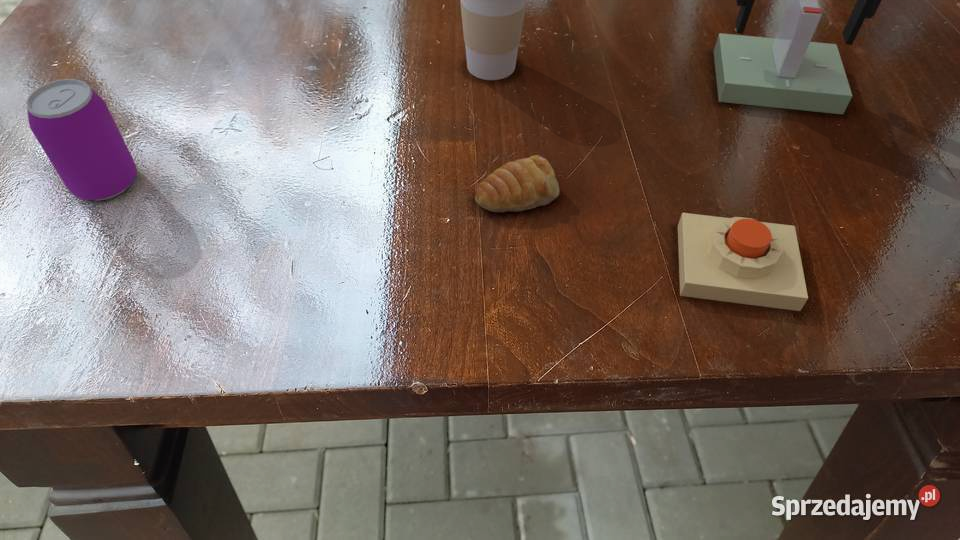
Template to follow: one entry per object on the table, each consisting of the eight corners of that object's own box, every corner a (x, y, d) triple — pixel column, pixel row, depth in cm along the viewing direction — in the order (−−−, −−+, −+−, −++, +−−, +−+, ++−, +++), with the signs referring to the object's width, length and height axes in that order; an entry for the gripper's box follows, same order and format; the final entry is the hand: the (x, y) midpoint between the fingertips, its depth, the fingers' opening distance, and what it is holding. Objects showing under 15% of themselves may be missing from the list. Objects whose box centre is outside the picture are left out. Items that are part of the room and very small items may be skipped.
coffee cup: (534, 58, 98) (543, -47, 86) (506, 92, 93) (511, -15, 81) (477, 41, 100) (478, -63, 89) (447, 73, 95) (444, -33, 84)
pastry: (491, 227, 77) (492, 203, 74) (464, 190, 81) (463, 165, 78) (563, 200, 80) (566, 176, 77) (533, 166, 83) (535, 141, 81)
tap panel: (828, 62, 98) (837, 42, 96) (843, 114, 90) (853, 94, 88) (713, 51, 100) (719, 31, 97) (718, 102, 92) (725, 81, 89)
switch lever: (771, 47, 95) (796, -18, 88) (788, 48, 95) (813, -16, 88) (777, 76, 91) (803, 11, 83) (794, 78, 90) (822, 13, 83)
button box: (787, 239, 76) (801, 213, 73) (800, 311, 70) (815, 286, 67) (677, 226, 77) (686, 200, 74) (680, 296, 71) (689, 271, 68)
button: (764, 232, 72) (769, 220, 71) (768, 261, 69) (774, 249, 68) (724, 227, 72) (729, 216, 71) (727, 256, 70) (732, 244, 68)
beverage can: (116, 210, 78) (68, 125, 69) (55, 198, 79) (1, 112, 70) (152, 166, 83) (112, 80, 73) (95, 155, 84) (49, 70, 74)
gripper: (749, -144, 72) (696, 39, 88) (1002, -124, 70) (899, 60, 86) (743, -170, 76) (693, 8, 93) (979, -152, 74) (886, 27, 91)
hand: (792, 33), depth 89 cm, fingers open, 13 cm apart
